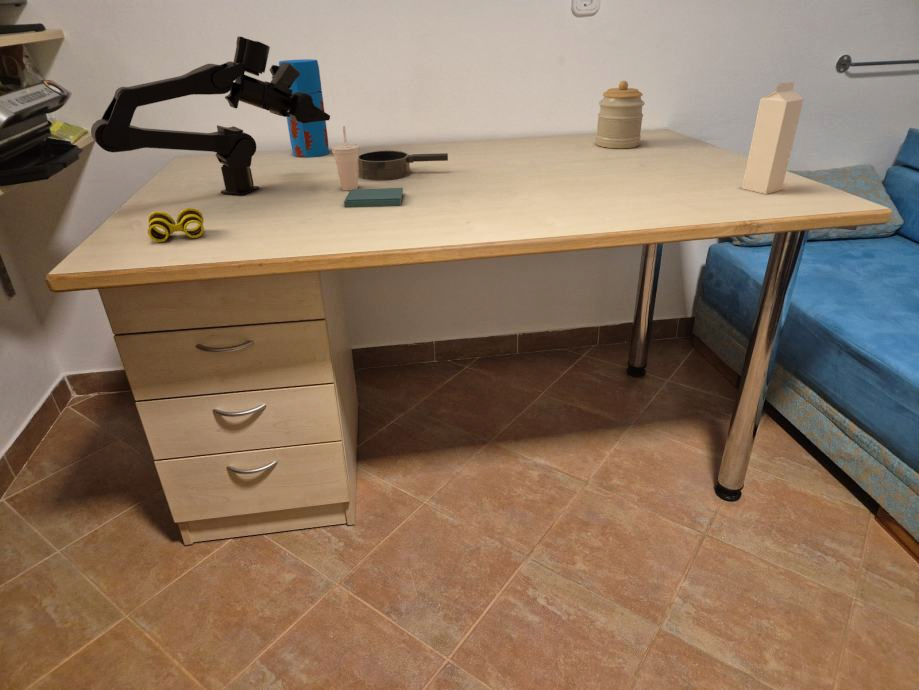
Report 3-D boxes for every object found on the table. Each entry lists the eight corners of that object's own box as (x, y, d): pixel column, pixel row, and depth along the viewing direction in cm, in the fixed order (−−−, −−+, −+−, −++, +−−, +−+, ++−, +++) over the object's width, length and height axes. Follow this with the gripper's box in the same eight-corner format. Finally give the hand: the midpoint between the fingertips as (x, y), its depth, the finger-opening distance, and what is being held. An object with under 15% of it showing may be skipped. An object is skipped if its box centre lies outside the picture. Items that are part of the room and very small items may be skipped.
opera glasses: (151, 247, 112) (143, 223, 108) (152, 233, 115) (145, 210, 112) (206, 240, 114) (200, 217, 111) (206, 227, 118) (200, 204, 115)
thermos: (314, 148, 185) (301, 58, 173) (336, 152, 179) (325, 59, 167) (285, 154, 178) (270, 61, 166) (307, 158, 172) (293, 63, 160)
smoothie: (366, 184, 145) (360, 124, 138) (359, 192, 139) (353, 129, 133) (340, 184, 146) (333, 124, 139) (333, 191, 140) (325, 129, 133)
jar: (613, 138, 188) (619, 77, 179) (648, 144, 179) (656, 80, 170) (586, 144, 181) (591, 81, 172) (621, 151, 172) (628, 84, 163)
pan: (355, 180, 149) (353, 162, 146) (361, 168, 160) (360, 151, 158) (408, 179, 149) (407, 160, 147) (411, 167, 160) (410, 149, 158)
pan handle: (407, 162, 152) (406, 155, 151) (407, 161, 154) (407, 153, 153) (447, 161, 152) (447, 154, 151) (447, 160, 154) (447, 152, 153)
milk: (781, 190, 133) (808, 82, 122) (765, 194, 131) (791, 85, 120) (757, 184, 138) (781, 80, 127) (740, 188, 135) (763, 82, 124)
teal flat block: (344, 207, 129) (343, 200, 128) (350, 195, 137) (349, 189, 136) (400, 205, 129) (400, 198, 128) (403, 194, 137) (402, 187, 136)
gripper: (282, 59, 128) (347, 84, 138) (253, 55, 141) (314, 79, 151) (270, 112, 130) (334, 133, 141) (243, 103, 144) (303, 123, 154)
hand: (321, 115), depth 146 cm, fingers open, 9 cm apart
